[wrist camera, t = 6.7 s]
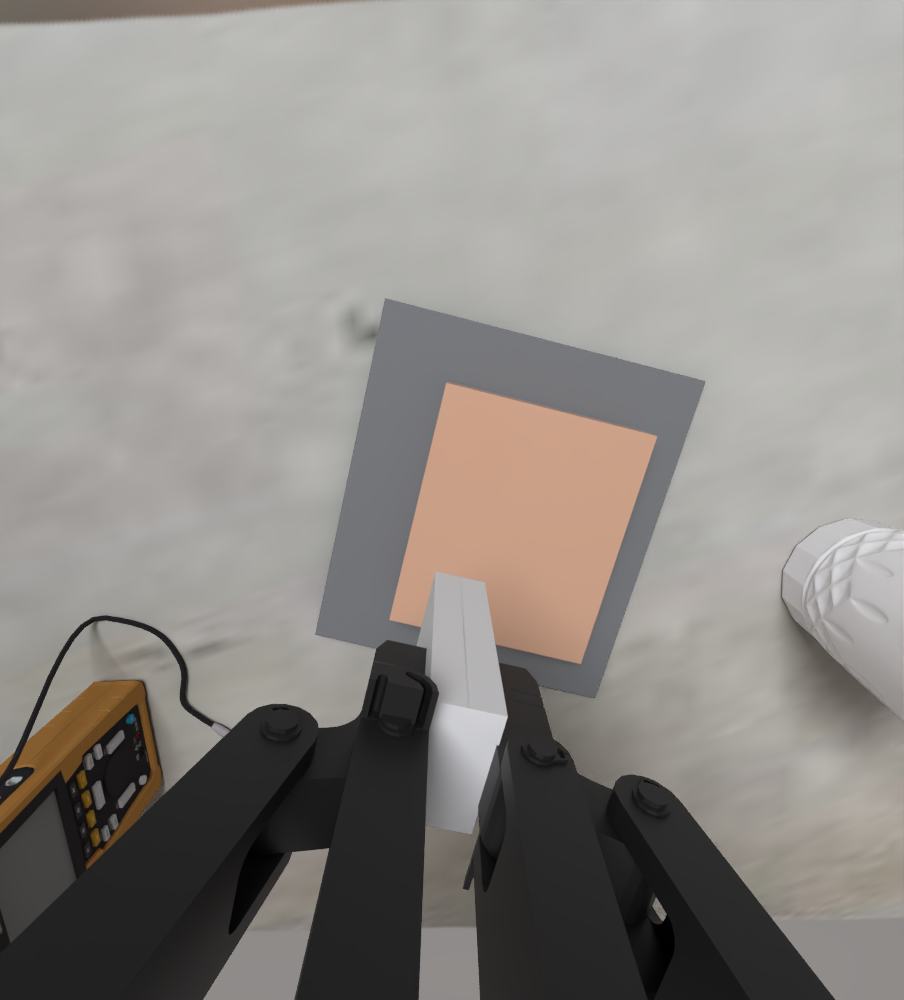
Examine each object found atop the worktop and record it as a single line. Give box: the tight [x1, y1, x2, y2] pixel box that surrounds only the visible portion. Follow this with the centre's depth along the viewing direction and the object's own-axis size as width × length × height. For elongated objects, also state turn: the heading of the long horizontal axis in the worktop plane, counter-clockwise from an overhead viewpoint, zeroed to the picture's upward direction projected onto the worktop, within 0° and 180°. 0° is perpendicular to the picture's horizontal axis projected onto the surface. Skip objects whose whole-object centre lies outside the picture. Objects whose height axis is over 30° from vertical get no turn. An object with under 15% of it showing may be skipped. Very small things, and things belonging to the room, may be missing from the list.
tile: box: [389, 381, 657, 664], centre depth 29 cm, size 2×12×10 cm
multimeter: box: [0, 616, 230, 953], centre depth 24 cm, size 15×10×20 cm
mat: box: [315, 298, 705, 698], centre depth 30 cm, size 16×18×1 cm
